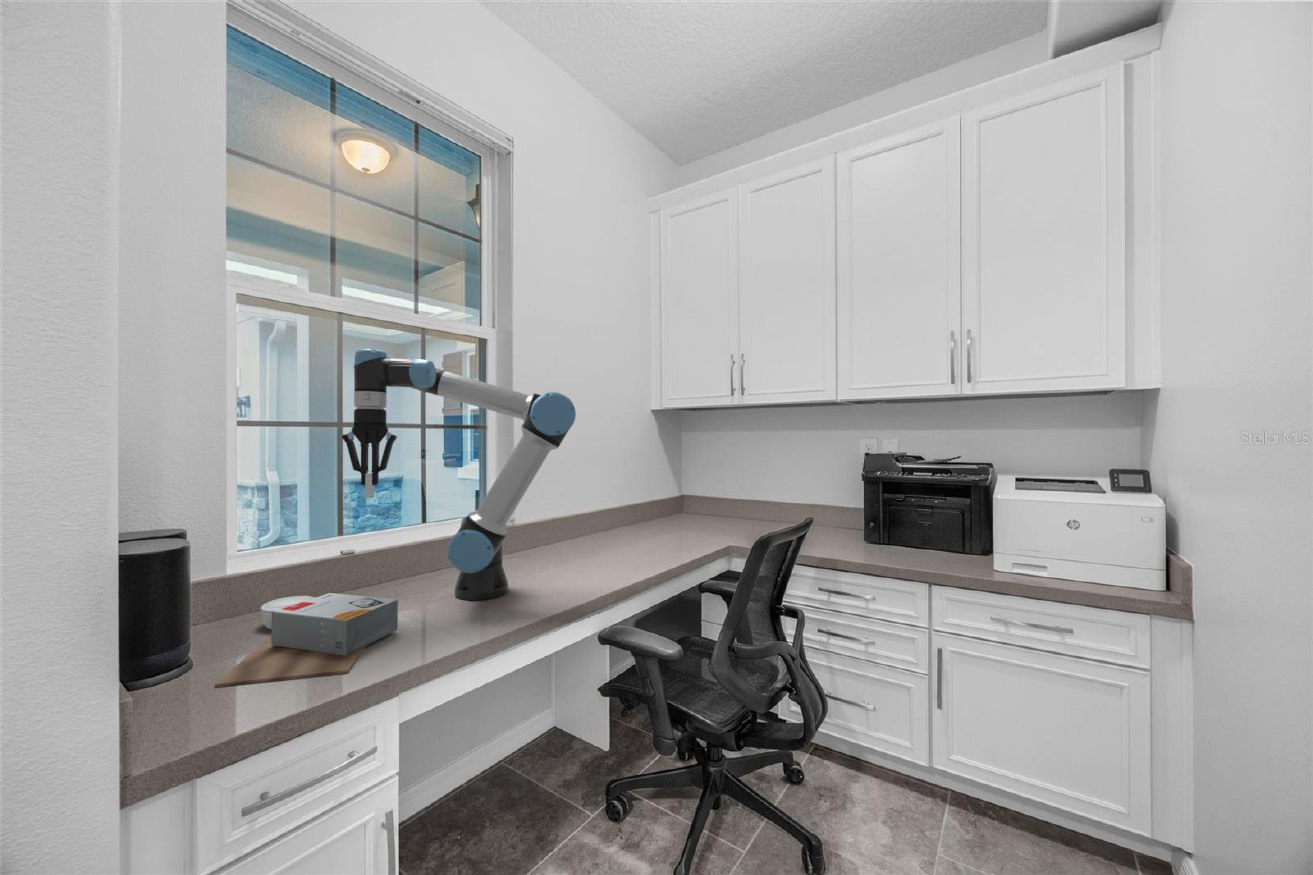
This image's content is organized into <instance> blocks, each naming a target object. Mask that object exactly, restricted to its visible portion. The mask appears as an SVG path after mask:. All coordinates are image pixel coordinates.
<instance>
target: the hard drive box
mask: <svg viewBox="0 0 1313 875" xmlns="http://www.w3.org/2000/svg"><path fill="white" fill-rule="evenodd" d="M398 617H399V600H398V599H396V598H395V599H394V598H384V597H376V596H375V597H373V596H364V595H363V596H362V595H354V594H353V595H352V594H344V593H335V592H333V593H332V592H328V593H326V594H322V595H320V596H316V597H314V598H313V599H311V600H308V601H305V602H301V603H298V604H295V605H292V606H289V607H286V608H283V609H280V610H277V611H274V612H272V630H271V629H270V630H271V635H270V636H271V645H274V646H281V647H288V648H295V649H302V650H309V651H316V652H323V653H330V654H337V655H344V656H346V655H349V654H350V653H352V652H354V651H357V650H359V649H361V648H363V647H364V646H366V647H367V646H369V645H370V644H372V643H374V642H376V641H378V640H380V639H382V638H384V637H387V636H388V635H390V634H391V633H394V632H396V631H398V629H399V628H398V626H399V623H398V619H399V618H398Z"/></svg>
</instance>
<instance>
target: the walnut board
mask: <svg viewBox="0 0 1313 875" xmlns="http://www.w3.org/2000/svg"><path fill="white" fill-rule="evenodd" d="M366 648H367V645H366V646H364V647H363V648H361V649H359V650H357V651H354V652H352V653H350V654H349V655H346V656H344V655H337V654H330V653H323V652H316V651H309V650H302V649H295V648H288V647H281V646H274V645H271V635H270V636H269V637H268V638H267V639H266V640H264V641H263V642H262V643H261V644H260V645H258V646H257V647H256V648H255V649H254V650H253V651H251V652H250V653H249V654H248V655H247V656H245V657H244V659H242V660H240V662H239V663H237V664H236V665H235V666H234V667H232V668H231V670H229V671H228V672H227V673H226V674H224V676H222V677H221V678H220V679H218V681H216V682H215V683H214V688H221V687H230V686H241V685H247V684H248V685H249V684H260V683H268V682H269V683H270V682H279V681H286V680H297V679H298V680H299V679H305V678H314V677H323V676H324V677H325V676H333V675H343V674H349V673H350V671H351V670H352V668H353V667H354V665H355V664H356V662H357V660H358V659H359V658H360V656H361V655H362V653H363V652H364V650H365V649H366Z"/></svg>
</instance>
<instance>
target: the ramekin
mask: <svg viewBox="0 0 1313 875" xmlns="http://www.w3.org/2000/svg"><path fill="white" fill-rule="evenodd" d="M313 598H315V597H314V596H310V595H295V596H285V597H280V598H277V599H273V600H270V601H268V602H266V603H263V604H262V605H261V606H260V613H261V614H262V620H263V624H264V626H265V628H267V629H268V630H271V629H272V612H274V611H277V610H280V609H283V608H286V607H289V606H292V605H295V604H298V603H301V602H305V601H308V600H311V599H313Z"/></svg>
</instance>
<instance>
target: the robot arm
mask: <svg viewBox="0 0 1313 875" xmlns="http://www.w3.org/2000/svg"><path fill="white" fill-rule="evenodd" d="M387 354H388V353H387V352H386V351H385V350H381V349H371V348H361V349H358V350H357V351H355V354H354V362H353V363H354V365H353V374H354V377H353V378H354V384H353V385H354V386H353V387H354V389H353V390H354V392H353V393H354V394H353V399H354V401H353V406H354V407H355V409H354V410H353V427H352V428H351V431H349V432H347V433H346V434H345V433H344V434H342V436H341V438H342V439H343V441H344V442H345V443H346V447H347V451H348V456H349V459H350V462H351V466H352V470H354V471H356V472H360V477H361V478H360V479H361V480H360V484H361V486H364V487H365V493H364V494H365V496H364V497H365V499H373V498H375V486H376V485H377V486H378V485H379V475H380V474H379V473H380V472H382V471H385V470H387V466H388V463H389V460H390V457H391V453H392V449H393V445H394V443H395V442H396V440H397V439H398V435H396V434H393V433H392V432H390V431H389V428H388V427H387V410H386V408H387V390H388V388H387V387H390V388H391V387H392V388H393V387H394V388H397V387H398V388H410V389H413V390H417V391H420V392H423V393H428V394H432V395H435V396H439V397H442V398H445V399H450V400H453V401H456V402H460V403H464V404H467V405H471V406H474V407H478V408H481V409H485V410H488V411H491V412H496V413H499V414H502V415H506V416H509V417H512V418H516V419H520V420H522V421H523V424H522V425H521V427H520V428H521V432H522V436H521V437H520V439H519V441H518V443H517V444H516V446H515V447H514V449H513V450H512V452H511V454H510V455H509V457H508V459H507V461H506V462H505V464H504V465H503V468H502V469H501V471H500V473H499V474H498V475H497V477H496V479H495V481H494V482H493V484H492V485H491V487H490V489H489V491H488V492H487V494H486V496H485V497H484V499H483V500H482V503H481V504H480V505H479V507H478V508H477V510H475V511H471V512H469V513H468V514H467V516H464V517H462V519H461V524H460V527H459V529H458V531H457V533H455V534H454V535H453V536H452V537H451V539H449V543H448V545H447V549H446V550H447V557H448V561H449V563H450V564H451V566H453V567H454V568H455V569H456V570H457V571H460V572H459V574H458V577H457V580H456V583H455V586H454V596H455V597H456V598H457V599H460V600H465V601H481V600H482V601H483V600H490V599H491V600H492V599H496V598H500V597H501V596H504V595H506V594H507V593H508V592H509V582H508V579H507V576H506V572H505V570H504V567H503V566H504V565H503V542H504V539H505V538H506V536H507V534H508V531H507V527H506V526H507V524H508V522H509V520H510V518H511V517H512V515H513V514H514V512H515V511H516V509H517V507H518V505H519V503H520V502H521V500H522V498H523V497H524V495H525V493H526V492H527V491H528V488H529V487H530V485H531V483H532V482H533V480H534V478H535V476H536V475H537V474H538V472H539V471H540V468H541V467H542V465H543V464H544V462H545V460H546V458H547V457H548V455H549V453H550V452H551V451H553V450H556V449H559V447H560V445H561V444H562V443H563V441H564V439H565V437H566V435H567V434H568V432H569V431H570V429H571V428H572V427H573V425H574V423H575V420H576V417H577V416H576V414H577V413H576V407H575V405H574V403H573V401H572V400H571V399H570V398H569V397H567V395H565V394H563V393H560V392H556V391H551V392H545V393H543V394H538V393H531V394H526V393H522V392H519V391H516V390H512V389H508V388H505V387H502V386H498V385H495V384H491V383H488V382H485V381H481V380H477V379H474V378H470V377H467V376H463V375H461V374H460V375H459V374H457V373H454V372H449V371H445V370H443V369H440V368H436V366H435V362H433V361H432V360H430V359H422V358H390V357H388V356H387ZM384 438H385V439H386V443H385V446H384V450H383V452H382V453H383V454H382V457H381V460H380V443H381V442H382V441H383V439H384ZM354 439H357V441H359V443H360V444H359V445H360V460H359V457H358V456H359V455H358V452H357V448H356V444H355V442H354ZM370 444H371V471H369V446H370Z"/></svg>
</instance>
